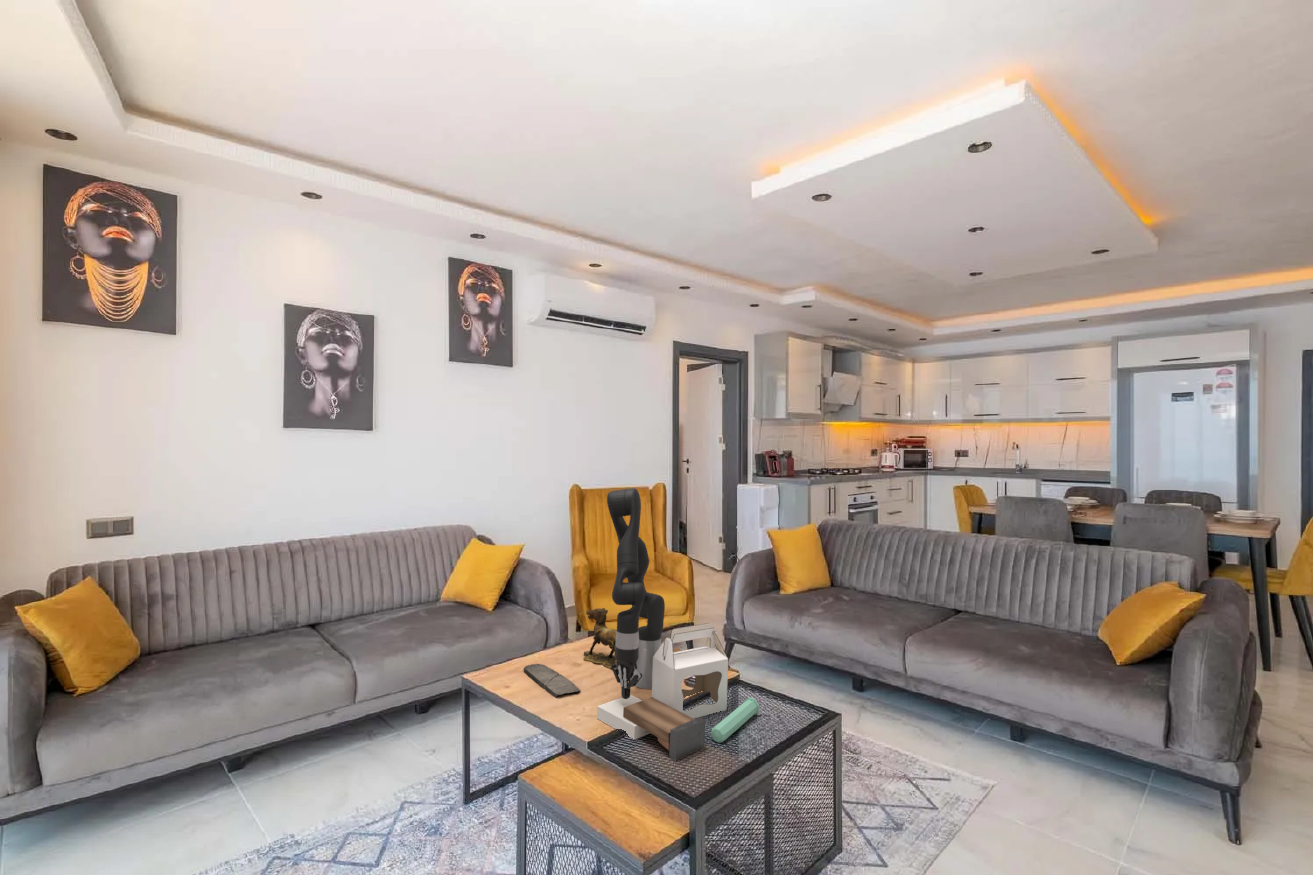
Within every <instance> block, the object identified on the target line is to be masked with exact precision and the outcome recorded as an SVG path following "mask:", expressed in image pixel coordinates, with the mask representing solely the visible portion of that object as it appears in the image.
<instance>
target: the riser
mask: <svg viewBox="0 0 1313 875" xmlns="http://www.w3.org/2000/svg"><path fill="white" fill-rule="evenodd" d="M640 701H643V700H642V699H640V698H638V697H636V696H634V695H632V694H630V697H629V698H628V699H624V698H622V697H620V698H617V699H613V700H610V701H608V702H605V703H603V704H600V705H597V708H596V709H597V710H596V711H597V712H596V719H597V720H599V721H600V720H601V722H602V723H604V724H606V725H607V724H608V725H607V726H609V725H610V727H611V726H612V727H611V728H613V729H614V728H616V729H622V730H624V731H626V733H627V734H628V736H629V738H630V739H632V738H633V739H632V740H634V739H635V740H637V739H640V738H642V737H644V736H647V735H649V734H651V733H650V732H648V731H646V730H644V729H643V728H641V727H639V726H638V725H636V724H634V723H633V722H631V721H629V720H627V719H626V718H624V717H623V710H624V707H626V706H629V705H632V704H634V703H637V702H640ZM616 729H615V730H616ZM628 736H627V737H628Z"/></svg>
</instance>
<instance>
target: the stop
mask: <svg viewBox="0 0 1313 875" xmlns="http://www.w3.org/2000/svg"><path fill="white" fill-rule="evenodd" d="M705 740H706V720H705V719H704V718H702V717H698V718H694V720H691V721H689V722H687V723H684V724H682V725H680V726H677V727H675V728H673V729H670V750H669V759H672V760H673V761H675V762H676V761H679V760H681V759H683V758H685V757H687V756H688V755H691V754H693V753H695V752H698V751H700V750H702V749H704V748H705Z"/></svg>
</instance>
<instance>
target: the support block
mask: <svg viewBox="0 0 1313 875" xmlns="http://www.w3.org/2000/svg"><path fill="white" fill-rule="evenodd" d="M657 741H658V742H659V743H660V744H661V745H662V746H663V747H664V748H665V749H667V751H670V743H667V742H665V741H663V740H661V739H660V738H658V737H657Z"/></svg>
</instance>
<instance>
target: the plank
mask: <svg viewBox="0 0 1313 875" xmlns="http://www.w3.org/2000/svg"><path fill="white" fill-rule="evenodd" d="M623 717H624V718H626V719H627V720H629V721H631V722H633V723H634V724H636V725H638V726H639V727H641V728H643V729H644V730H646V731H648V732H650V733H649V734H651V735H652V736H655V737H657V739H658V738H660V739H661V740H663V741H665V742H667V743H670V729H673V728H675V727H677V726H680V725H682V724H684V723H687V722H689V721H691V720H694V719H695V718H694V719H693V718H691V717H689V716H687V715H685V714H683V713H682V712H680V711H678V710H676V709H674V708H672V707H670V706H668V705H666V704H664V703H662V702H661V701H659V700H657V699H655V698H653V697H652V696H650V697H649V698H646V699H643V700H642V701H640V702H637V703H634V704H632V705H629V706H626V707H624V710H623Z"/></svg>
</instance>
